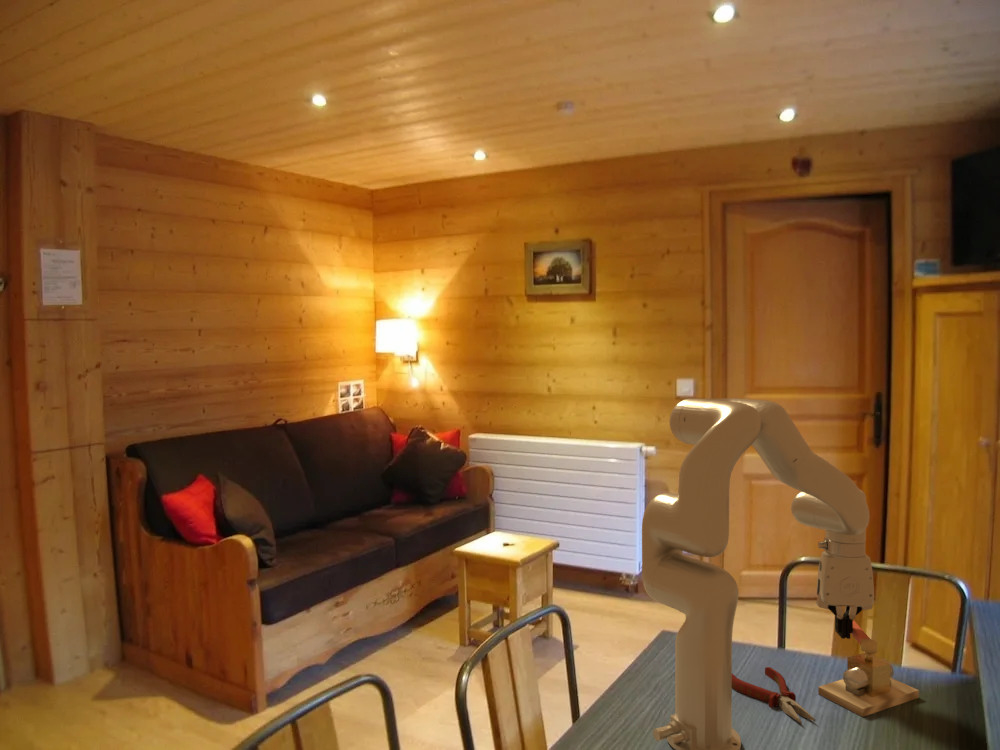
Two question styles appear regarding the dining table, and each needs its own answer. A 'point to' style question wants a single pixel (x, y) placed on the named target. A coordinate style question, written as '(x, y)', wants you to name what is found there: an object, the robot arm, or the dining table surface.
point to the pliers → (773, 695)
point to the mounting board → (868, 697)
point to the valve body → (867, 675)
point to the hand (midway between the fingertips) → (843, 635)
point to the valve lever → (864, 640)
